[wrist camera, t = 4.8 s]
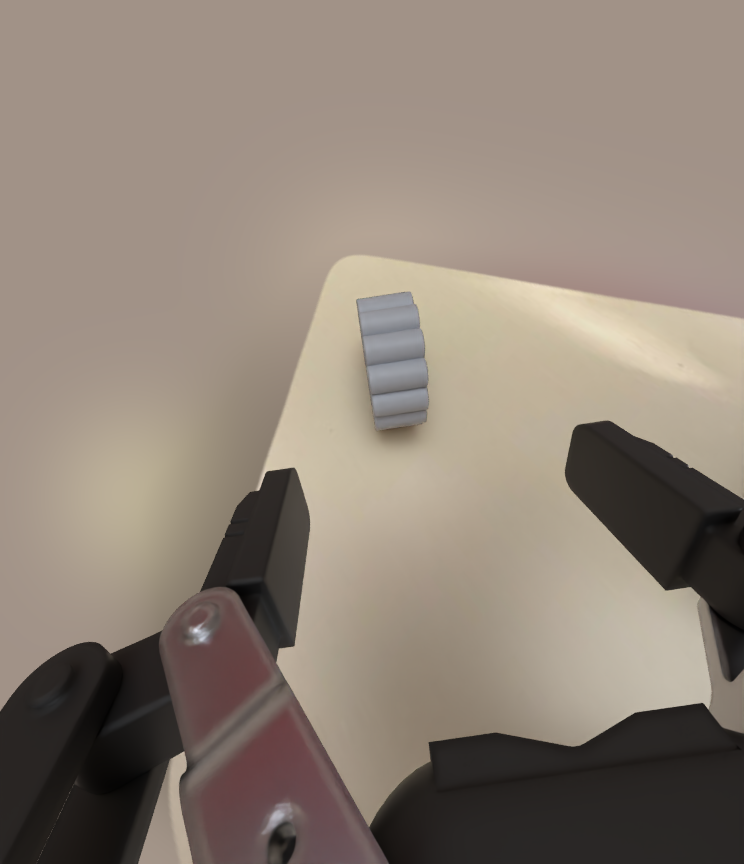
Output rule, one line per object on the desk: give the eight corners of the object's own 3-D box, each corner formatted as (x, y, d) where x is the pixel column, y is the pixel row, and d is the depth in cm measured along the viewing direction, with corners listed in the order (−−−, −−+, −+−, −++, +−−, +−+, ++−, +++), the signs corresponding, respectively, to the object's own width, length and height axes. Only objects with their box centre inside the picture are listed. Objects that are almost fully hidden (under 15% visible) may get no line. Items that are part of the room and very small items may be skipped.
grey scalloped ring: (377, 444, 23) (373, 406, 15) (362, 343, 25) (351, 266, 17) (419, 437, 23) (436, 396, 15) (400, 338, 25) (407, 257, 17)
